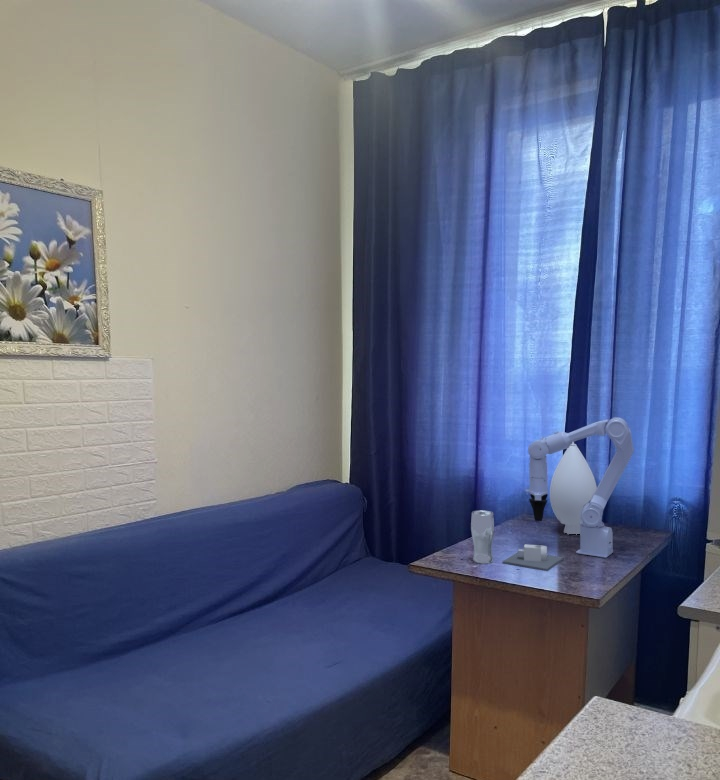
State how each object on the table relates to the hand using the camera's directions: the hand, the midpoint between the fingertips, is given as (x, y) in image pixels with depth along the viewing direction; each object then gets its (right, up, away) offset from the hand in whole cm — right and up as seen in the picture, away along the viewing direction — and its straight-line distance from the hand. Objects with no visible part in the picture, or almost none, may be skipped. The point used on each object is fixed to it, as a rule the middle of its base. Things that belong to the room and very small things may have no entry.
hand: (538, 518), depth 211 cm
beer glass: (-21, -11, -13) cm, 27 cm away
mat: (-6, -10, -14) cm, 18 cm away
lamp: (+18, -9, +19) cm, 28 cm away
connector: (-6, -10, -14) cm, 18 cm away
